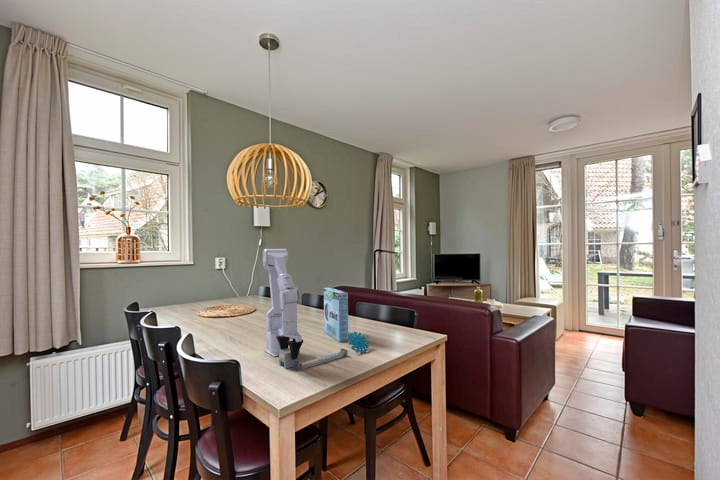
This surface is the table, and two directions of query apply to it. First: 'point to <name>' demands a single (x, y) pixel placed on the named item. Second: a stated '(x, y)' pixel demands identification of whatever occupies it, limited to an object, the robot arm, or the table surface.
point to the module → (287, 358)
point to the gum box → (336, 314)
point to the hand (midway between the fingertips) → (289, 356)
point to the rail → (321, 360)
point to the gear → (358, 342)
